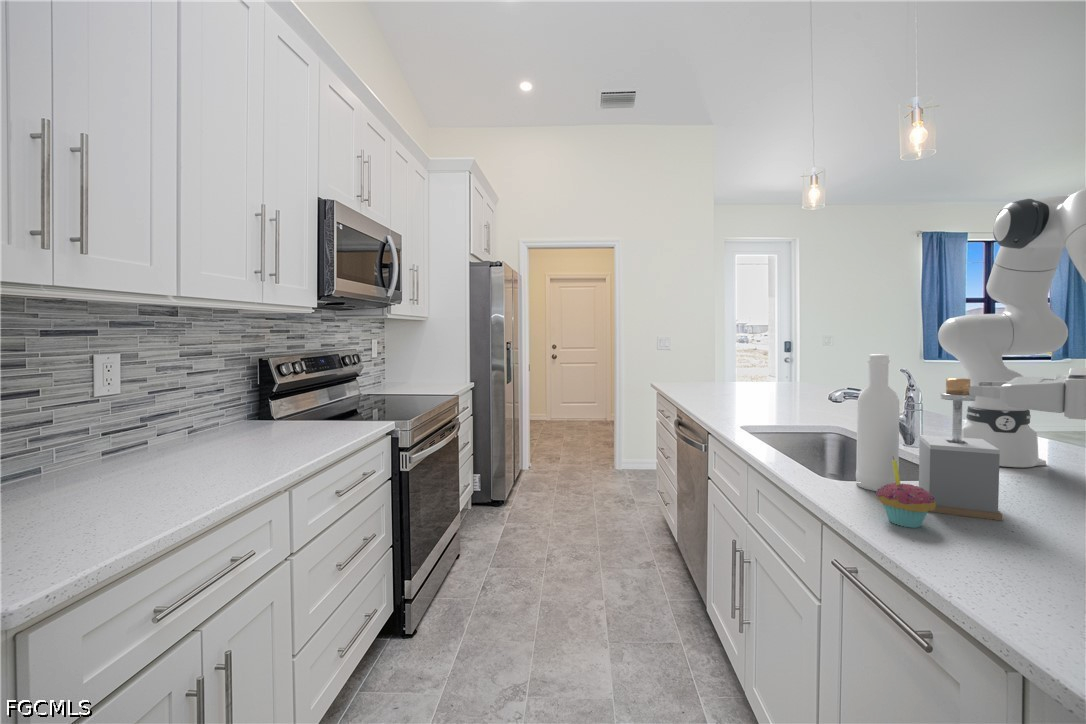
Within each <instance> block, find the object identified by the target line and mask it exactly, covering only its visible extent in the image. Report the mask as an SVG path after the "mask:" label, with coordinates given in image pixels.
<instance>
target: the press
mask: <svg viewBox="0 0 1086 724" xmlns="http://www.w3.org/2000/svg"><path fill="white" fill-rule="evenodd" d="M918 448H919V452H918V454H919V455H918V456H919V457H918V459H919V460H918V461H919V462H918V487H919V488H923V489H924V490H926V491H927V492H928V493H929V492H930V494H931V495H933V497H934V498H935V499H934V500H935V503H936V507H935V509H934V510H933V511H928V513H929V512H930V513H936V514H937V513H938V514H944V515H945V514H947V515H955V516H961V517H969V516H970V517H971V518H976V519H977V518H978V519H985V518H986V519H987V520H992V519H995V520H994V521H1000V520H1001V521H1003V519H1004V515H1003V513H1002V512H1001V511H1000V510H999V494H1000V493H999V491H1000V487H999V486H1000V466H999V460H1000V450H999V449H998V448H996V447H994V446H993V445H991V444H990V443H988V442H986V441H985V440H983V439H974V438H962V443H961V444H960V443H952V436H939V435H925V434H923V435H922V434H919V447H918ZM986 519H985V520H986Z"/></svg>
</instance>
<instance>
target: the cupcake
mask: <svg viewBox="0 0 1086 724" xmlns="http://www.w3.org/2000/svg"><path fill="white" fill-rule="evenodd" d="M892 457H893V456H892ZM892 463H893V468H894V474H895V480H896V483H894V484H893V483H892V484H887V485H884V486H883V487H882V486H881V489H878V491H876V497H877V500H878V501H880V503H881V504H882V506H883V507H884V508H883V509H885V513H886V516H887V520H888V522H890V523H891V522H892V524H893V523H894V524H893V525H896V524H897V526H899V525H900V527H903V526H904V528H911V529H914V528H921V527H922V525H923V523H924V519H925V518H926V516H927V514H928V513H929V511H933V510H934V509H935V507H936V503H935V500H934V499H935V498H934V497H933V495H931V494H930V492H929V493H928V492H927V491H926V490H924V489H923V488H919V485H913V484H910V483H901V478H900V473H899V472H898V466H897V461H895V460H894V457H893V461H892Z"/></svg>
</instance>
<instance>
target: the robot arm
mask: <svg viewBox="0 0 1086 724" xmlns="http://www.w3.org/2000/svg"><path fill="white" fill-rule="evenodd" d="M992 233H993V238H994V240H995V241H996V243H997V244H998V245H999V248H998V251H997V253H996V255H995V259H994V261H993V265H992V268H991V272H990V275H989V277H988V280H987V283H986V293H987V294H988V297H990V298H991V299H992V300H994V301H996V302H997V303H999V304H1002V305H1005V307H1004V310H1003V311H1002V313H1001V312H1000V313H980V314H979V313H978V314H977V313H976V314H975V313H974V314H965V315H960V316H955V317H951V318H948V319H946V320H945V321H944V322H943V323H942V324H941V326H940V327H939V329H938V334H937V338H938V343H939V345H940V347H941V348H942V349H943V350H944V351H945V352H946V353H948V354H950V355H951V356H953V357H954V358H955V359H956V360H958V362H959V363H960V364H961V366H962V367H963V368H964V370H965V372H966V375H967V379H971V381H970V388H969V394H970V395H971V396H976V400H975V401H969V406H967V409H966V413H965V414H966V416H965V418H966V419H967V420H966V421H965V422H964V424H962V438H974V439H983V440H985V441H986V442H988V443H990V444H991V445H993V446H994V447H996V448H998V449H999V450H1000V460H999V467H1004V468H1005V467H1008V468H1033V467H1036V466H1046V465H1047V461H1046V460H1045V459H1042V458H1039V442H1038V432H1037V431H1035V429H1032V428H1031V427H1030V423H1031V411H1038V412H1046V413H1056V414H1063V416H1064V417H1065V418H1067V419H1072V420H1081V421H1083V420H1084V421H1086V367H1070V368H1069V371H1068V374H1058V373H1056V374H1055V375H1054V377H1044V376H1043V377H1042V376H1041V377H1040V376H1038V377H1037V376H1024V375H1022V374H1021V373H1019V372H1017V371H1015V370H1012V369H1010V368H1008V367H1007V366H1006V365H1005V363H1004V362H1003V356H1033V355H1034V356H1035V355H1041V354H1046V353H1053V352H1056V351H1058V350H1060V349H1061V348H1062V347H1063V346H1064V345H1065V344H1066V342H1067V340H1068V336H1069V330H1068V325H1067V324H1066V322H1065V321H1064V320H1063V319H1062V318H1061V317H1060V316H1058V315H1057V314H1055V313H1054V312H1053V311H1052V309H1051V308H1050V305H1049V292H1050V289H1051V286H1052V282H1053V279H1054V276H1055V274H1056V271H1057V269H1058V265H1059V263H1060V260H1061V257H1062V255H1063V250H1064V248H1065V250H1066V252H1067V254H1068V257H1069V258H1070V260H1071V262H1072V263H1073V266H1074V267H1075V268H1076V270H1077V272H1078V273H1079V275H1080V276H1081V277H1082V279H1083V280H1084V282H1085V283H1086V187H1084V188H1082V189H1079V190H1078V191H1076V192H1075V193H1068V194H1065V195H1055V196H1048V197H1040V198H1026V199H1019V200H1016V201H1012V202H1010V203H1009V202H1008V203H1007V204H1006V205H1005V206H1004V207H1002V209H1000V210H999V211H998V213H997V215H996V217H995V219H994V224H993V232H992Z"/></svg>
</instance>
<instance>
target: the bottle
mask: <svg viewBox="0 0 1086 724" xmlns="http://www.w3.org/2000/svg"><path fill="white" fill-rule="evenodd" d="M867 363H868V385H867V386H866V387H864V388H863V389H862V390H861V391H860V393H859V395H858V397H857V401H856V466H855V467H856V471H855V480H856V481H855V484H856V485H857V486H858V487H859V488H862V489H864V490H867V491H872V492H878V489H881V486H882V487H883V486H884V485H887V484H892V483H893V484H894V483H896V480H895V474H894V468H893V463H892V461H893V457H894V460H895V461H897V466H898V472H899V469H900V468H899V467H900V465H899V463H900V462H899V461H900V457H899V456H900V410H901V409H900V405H901V403H900V399H899V397H898V394H897V392H896V391H895V390H894V389H893V388H891V387H890V386H889V363H890V358H889V355H888V354H883V353H877V354H876V353H875V354H873V353H870V354H869V355H868V360H867ZM892 456H893V457H892ZM856 482H861V483H856Z"/></svg>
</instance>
